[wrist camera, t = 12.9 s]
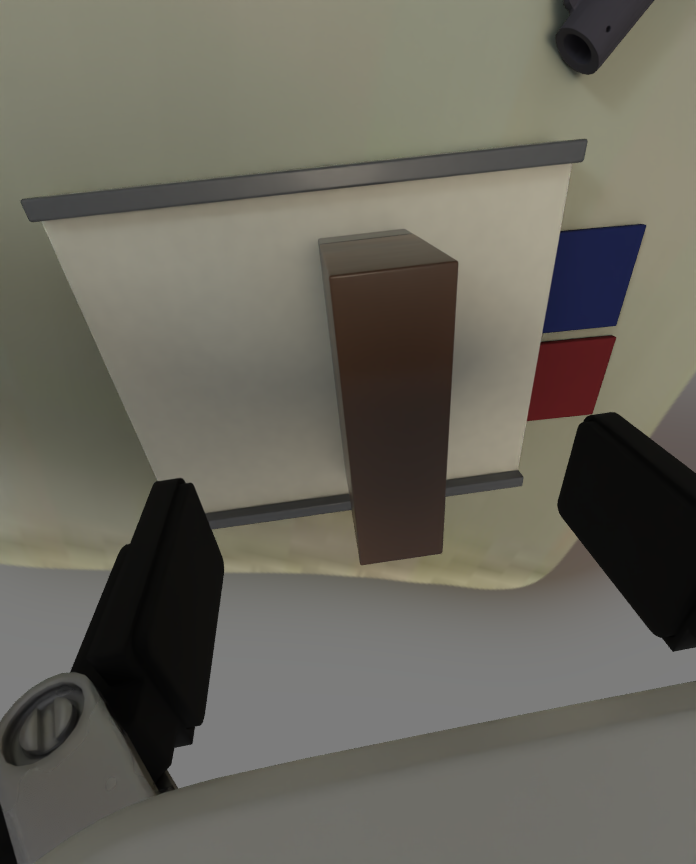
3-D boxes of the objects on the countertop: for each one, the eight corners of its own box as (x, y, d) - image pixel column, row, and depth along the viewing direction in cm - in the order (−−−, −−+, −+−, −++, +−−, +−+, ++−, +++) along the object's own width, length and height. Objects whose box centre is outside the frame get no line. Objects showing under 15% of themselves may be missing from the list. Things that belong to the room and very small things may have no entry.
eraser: (345, 470, 19) (360, 566, 15) (317, 238, 14) (328, 276, 9) (408, 461, 20) (442, 554, 15) (405, 228, 14) (459, 260, 9)
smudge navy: (524, 332, 18) (527, 334, 18) (542, 232, 16) (546, 233, 16) (611, 324, 18) (616, 326, 18) (641, 223, 16) (647, 224, 16)
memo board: (183, 504, 21) (173, 535, 20) (53, 194, 14) (17, 199, 12) (504, 460, 22) (522, 486, 20) (553, 141, 14) (589, 138, 13)
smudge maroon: (511, 419, 21) (514, 422, 20) (526, 343, 18) (529, 345, 18) (588, 411, 21) (592, 414, 21) (612, 335, 19) (616, 337, 18)
